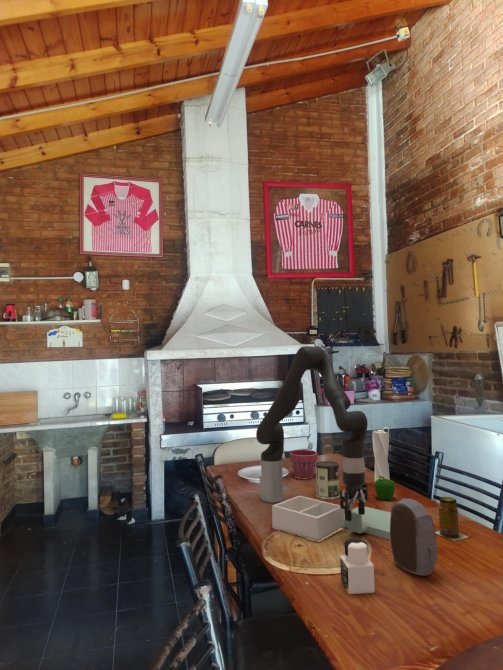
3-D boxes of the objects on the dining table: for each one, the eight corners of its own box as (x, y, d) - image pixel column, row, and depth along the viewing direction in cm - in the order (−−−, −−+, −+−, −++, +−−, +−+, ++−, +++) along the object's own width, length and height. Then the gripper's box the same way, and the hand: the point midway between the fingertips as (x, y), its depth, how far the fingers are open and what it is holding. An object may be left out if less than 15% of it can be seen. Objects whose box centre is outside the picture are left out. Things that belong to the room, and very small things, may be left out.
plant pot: (319, 481, 227) (319, 454, 228) (291, 481, 228) (290, 455, 228) (316, 473, 242) (315, 449, 242) (289, 474, 242) (288, 449, 242)
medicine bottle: (340, 581, 126) (339, 536, 126) (366, 580, 126) (364, 535, 127) (348, 595, 118) (346, 547, 119) (375, 593, 119) (373, 546, 120)
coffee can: (339, 492, 207) (339, 461, 208) (339, 499, 197) (338, 466, 198) (316, 492, 209) (316, 460, 210) (315, 498, 199) (314, 465, 200)
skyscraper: (393, 486, 215) (391, 426, 216) (389, 490, 209) (386, 428, 210) (376, 484, 219) (374, 425, 221) (371, 488, 213) (369, 427, 214)
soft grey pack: (386, 561, 137) (384, 493, 138) (408, 556, 140) (406, 489, 141) (423, 584, 123) (421, 508, 124) (447, 577, 127) (444, 503, 128)
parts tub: (272, 528, 166) (272, 505, 166) (299, 516, 177) (299, 495, 178) (318, 542, 152) (317, 518, 152) (344, 529, 163) (343, 506, 164)
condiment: (448, 529, 162) (447, 494, 162) (469, 537, 154) (467, 501, 155) (433, 533, 158) (432, 497, 159) (453, 541, 151) (452, 504, 151)
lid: (327, 528, 164) (326, 507, 165) (361, 512, 181) (360, 492, 181) (384, 545, 149) (383, 521, 149) (415, 525, 166) (414, 504, 166)
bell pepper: (392, 496, 201) (392, 472, 201) (397, 502, 193) (396, 477, 193) (373, 495, 202) (372, 472, 202) (376, 501, 193) (375, 477, 194)
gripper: (355, 464, 166) (356, 509, 165) (332, 471, 156) (334, 520, 155) (373, 467, 161) (375, 514, 160) (352, 475, 151) (353, 525, 150)
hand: (355, 517), depth 158 cm, fingers open, 8 cm apart
